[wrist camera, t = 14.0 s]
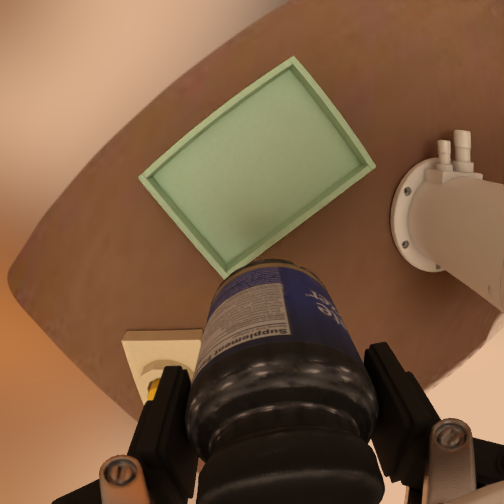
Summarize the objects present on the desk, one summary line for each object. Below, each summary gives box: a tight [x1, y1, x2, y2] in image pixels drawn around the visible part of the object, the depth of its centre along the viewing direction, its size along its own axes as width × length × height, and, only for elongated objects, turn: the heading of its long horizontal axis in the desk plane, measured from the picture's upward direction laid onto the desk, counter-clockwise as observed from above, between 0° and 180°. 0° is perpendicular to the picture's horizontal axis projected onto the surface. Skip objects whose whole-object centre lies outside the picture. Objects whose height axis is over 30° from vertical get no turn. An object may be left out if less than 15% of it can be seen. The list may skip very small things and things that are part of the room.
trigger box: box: [122, 329, 203, 405], centre depth 34 cm, size 12×9×4 cm
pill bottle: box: [184, 259, 385, 504], centre depth 11 cm, size 6×6×11 cm
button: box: [148, 378, 160, 400], centre depth 31 cm, size 4×4×2 cm
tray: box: [138, 56, 376, 280], centre depth 27 cm, size 17×12×3 cm
